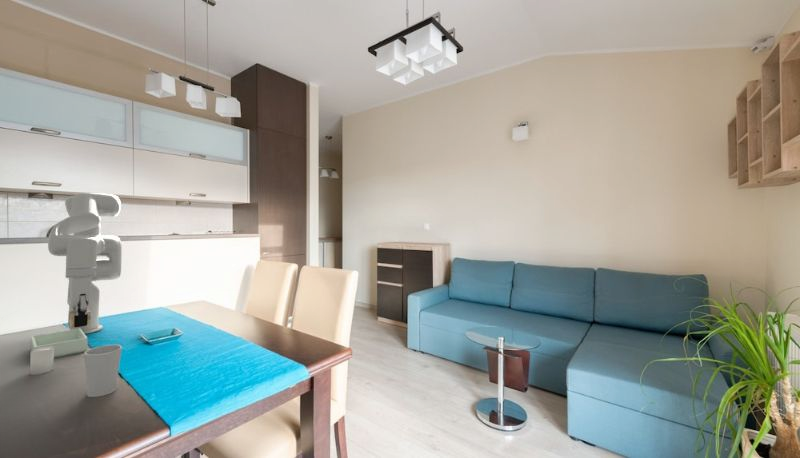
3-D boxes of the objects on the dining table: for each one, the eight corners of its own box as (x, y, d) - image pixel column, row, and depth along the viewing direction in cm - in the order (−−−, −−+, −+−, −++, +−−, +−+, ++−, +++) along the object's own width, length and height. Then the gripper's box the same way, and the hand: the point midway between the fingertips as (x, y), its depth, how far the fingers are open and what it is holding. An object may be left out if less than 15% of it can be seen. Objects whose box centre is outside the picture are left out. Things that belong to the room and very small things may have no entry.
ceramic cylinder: (33, 370, 104) (34, 348, 104) (55, 366, 106) (56, 345, 106) (27, 376, 99) (27, 353, 100) (50, 372, 102) (50, 350, 102)
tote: (30, 349, 120) (31, 335, 120) (79, 340, 131) (80, 328, 131) (33, 361, 110) (34, 347, 110) (87, 351, 120) (87, 337, 120)
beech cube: (68, 325, 111) (68, 311, 111) (88, 322, 115) (88, 308, 115) (70, 328, 108) (70, 314, 108) (90, 325, 112) (91, 311, 112)
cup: (127, 385, 96) (129, 345, 96) (100, 399, 88) (101, 355, 88) (103, 383, 96) (105, 343, 96) (74, 397, 88) (76, 353, 88)
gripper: (62, 270, 113) (60, 321, 114) (69, 276, 103) (67, 333, 103) (91, 268, 119) (89, 317, 120) (100, 274, 109) (98, 327, 109)
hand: (79, 323), depth 111 cm, fingers closed on beech cube, 5 cm apart
